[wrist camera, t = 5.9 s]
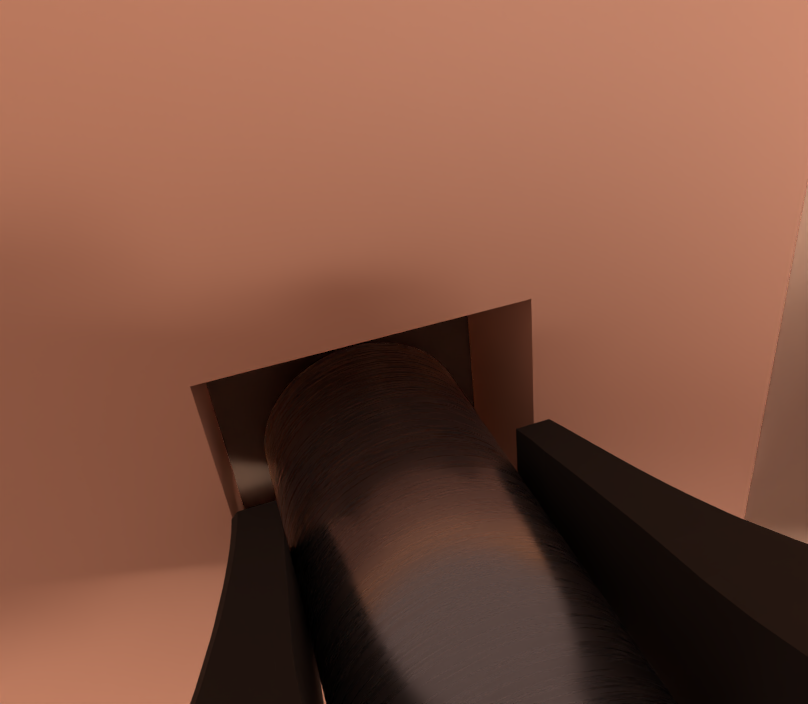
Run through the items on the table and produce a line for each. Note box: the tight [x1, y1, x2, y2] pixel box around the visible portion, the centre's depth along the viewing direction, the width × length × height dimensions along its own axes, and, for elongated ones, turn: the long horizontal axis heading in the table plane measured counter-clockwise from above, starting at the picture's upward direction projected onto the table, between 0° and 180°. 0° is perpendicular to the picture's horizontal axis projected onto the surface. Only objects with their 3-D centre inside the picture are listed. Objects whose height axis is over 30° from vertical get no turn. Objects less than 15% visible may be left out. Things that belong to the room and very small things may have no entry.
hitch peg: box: [264, 342, 677, 704], centre depth 11 cm, size 4×4×8 cm
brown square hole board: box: [0, 0, 808, 704], centre depth 13 cm, size 16×16×3 cm
